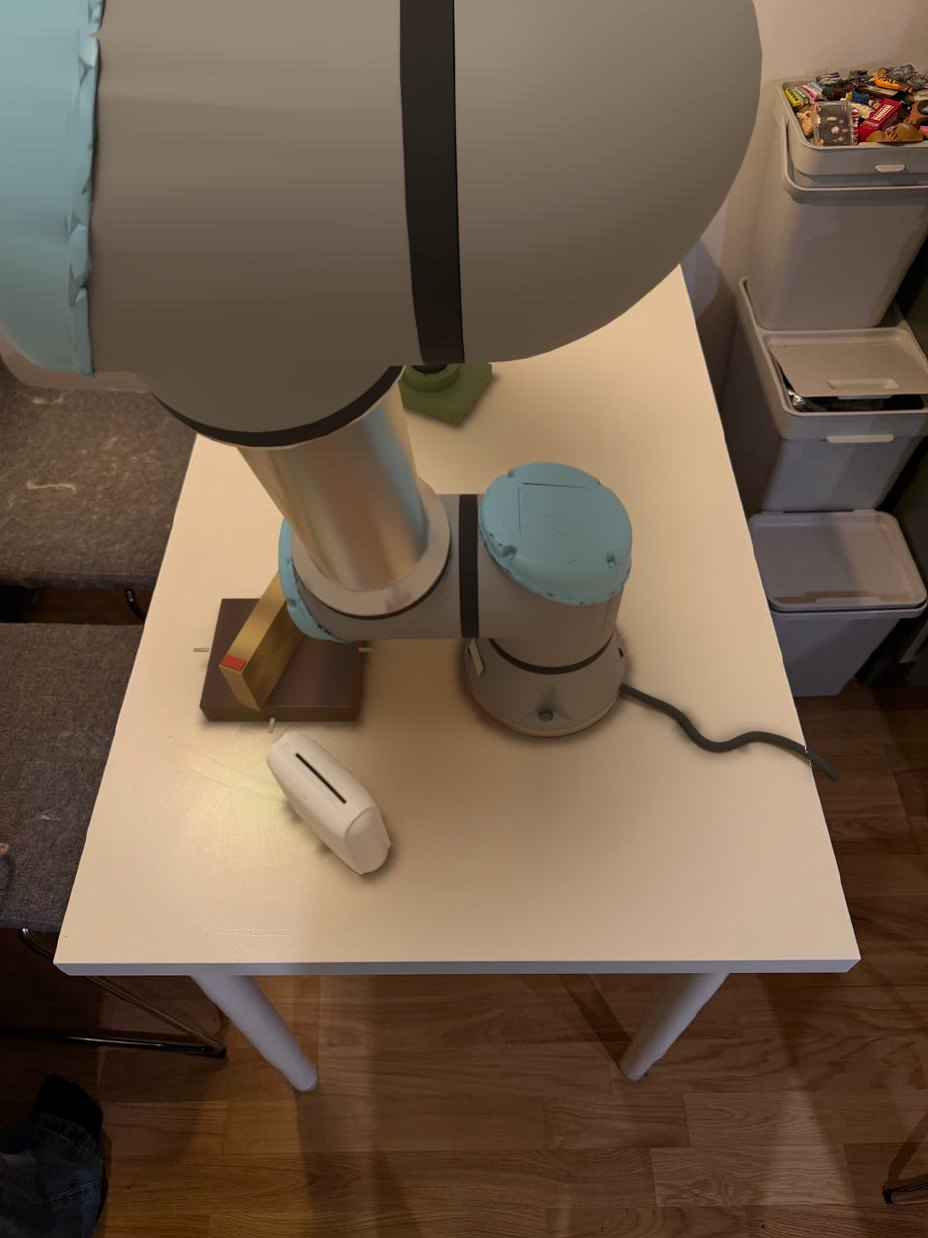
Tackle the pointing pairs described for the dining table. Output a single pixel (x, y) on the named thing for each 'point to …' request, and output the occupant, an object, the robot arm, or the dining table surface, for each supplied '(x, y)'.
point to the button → (430, 368)
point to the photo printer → (330, 801)
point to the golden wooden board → (261, 649)
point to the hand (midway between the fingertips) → (402, 258)
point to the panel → (285, 676)
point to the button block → (444, 389)
